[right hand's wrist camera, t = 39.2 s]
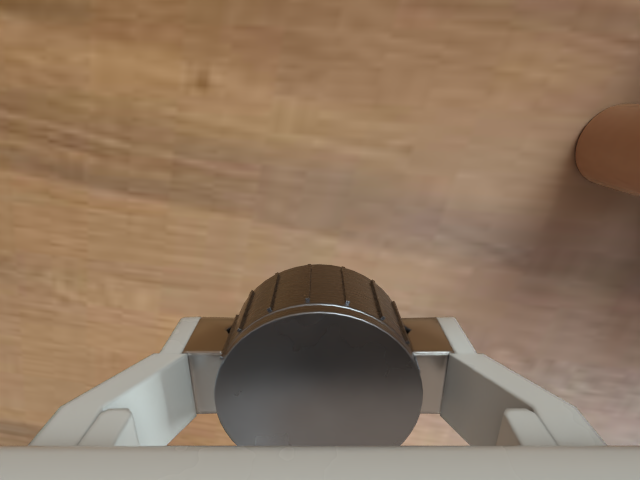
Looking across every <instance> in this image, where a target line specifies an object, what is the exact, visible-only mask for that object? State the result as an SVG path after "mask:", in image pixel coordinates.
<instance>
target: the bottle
mask: <svg viewBox="0 0 640 480" xmlns="http://www.w3.org/2000/svg"><path fill="white" fill-rule="evenodd" d="M575 158H576V164H577V167H578V170H579V171H580V173H581V174H582V175H583V177H584V178H586V179H587V180H588V181H590V182H592V183H595V184H598V185H601V186H605V187H608V188H611V189H615V190H618V191H621V192H625V193H628V194H631V195H635V196H638V197H640V104H619V105H615V106H612V107H610V108H607V109H605V110H604V111H602V112H600V113H599V114H598V115H596V116H595V117H594V118H593V119H592V120H591V121H590V122H589V123H588V124H587V126H586V127H585V128H584V130H583V131H582V133H581V135H580V137H579V140H578V143H577V146H576V153H575Z"/></svg>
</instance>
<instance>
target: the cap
mask: <svg viewBox="0 0 640 480" xmlns="http://www.w3.org/2000/svg"><path fill="white" fill-rule="evenodd" d="M409 344H410V341H409V339H408V336H407V333H406V330H405V328H404V325H403V322H402V320H401V317H400V314H399V311H398V309H397V306H396V303H395V302H394V301H393V302H392V301H391V299H390V298H389V296H388V295H387V294H386V293H385V292H384V291H383V290H382V289H381V288H380V287H379V286H378V285H377V284H376V283H375V281H374V280H370V279H368V278H367V277H365V276H364V275H361V274H359V273H357V272H355V271H352V270H349V269H346V268H345V267H338V266H333V265H321V264H317V265H311V264H308V265H305V266H299V267H295V268H291V269H288V270H285V271H283V272H280V273H276V274H275V275H274V276H272V277H271V278H269V279H267V280H266V281H264V282H263V283H262V284H261V285H260V286H258V287H257V288H256V289H255V290H254V291H251V292H250V294H249V297H248V299H247V300H246V302H245V303H244V305H243V307H242V309H241V311H240V313H239V315H236V317H235V320H234V322H233V325H232V327H231V330H230V333H229V335H228V338H227V340H226V343H225V345H224V348H223V351H222V353H221V356H220V360H222V361H221V364H220V367H219V369H218V373H217V376H216V379H215V386H214V402H215V407H216V412H217V415H218V417H219V420H220V423H221V424H222V426H223V428H224V430H225V432H226V433H227V434H228V436H229V437H230V438H231V440H232V441H233V442H234V443H235V444H236V445H237V446H400V445H401V444H402V443H403V442H404V441H405V440H406V438H407V437H408V436H409V435H410V433H411V432H412V430H413V428H414V426H415V425H416V423H417V420H418V417H419V415H420V411H421V407H422V402H423V387H422V380H421V376H420V373H421V372H420V368H419V365H418V363H416V361H415V358H414V356H413V353H412V350H411V347H410V345H409Z"/></svg>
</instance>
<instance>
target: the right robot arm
mask: <svg viewBox="0 0 640 480" xmlns="http://www.w3.org/2000/svg"><path fill="white" fill-rule="evenodd" d="M234 320H235V318H224V317H184V318H181V319H180V321H179V323H178V324H177V326H176V327H175V329H174V331H173V332H172V334H171V335H170V337H169V339H168V340H167V342H166V343H165V345H164V347H163V348H162V350H161V351H160V353H159V354H152V355H150V356H148V357H147V358H145V359H143V360H141V361H140V362H138V363H136V364H134V365H133V366H131V367H129V368H127V369H126V370H124V371H122V372H120V373H119V374H117V375H115V376H113V377H112V378H110V379H108V380H106V381H104V382H103V383H101V384H99V385H97V386H96V387H94V388H92V389H90V390H89V391H87V392H85V393H83V394H82V395H80V396H78V397H76V398H75V399H73V400H71V401H69V402H68V403H66V404H64V405H62V406H61V407H60V408H59V409H58V410H57V411H56V412H55V413H54V415H53V416H52V417H51V418H50V419H49V421H48V422H47V423H46V424H45V425H44V427H43V428H42V429H41V430H40V431H39V433H38V434H37V435H36V436H35V437H34V439H33V440H32V441H31V442H30V443H29V445H28V446H0V480H640V446H607V445H606V443H605V442H604V441H603V440H602V438H601V437H600V436H599V435H598V434H597V432H596V431H595V430H594V429H593V427H592V426H591V425H590V424H589V422H588V421H587V420H586V419H585V418H584V416H583V415H582V414H581V413H580V411H579V410H578V409H577V408H576V407H575V406H573V405H571V404H569V403H568V402H566V401H564V400H562V399H561V398H559V397H557V396H556V395H554V394H552V393H550V392H549V391H547V390H545V389H543V388H542V387H540V386H538V385H536V384H535V383H533V382H531V381H530V380H528V379H526V378H524V377H523V376H521V375H519V374H517V373H516V372H514V371H512V370H510V369H509V368H507V367H505V366H504V365H502V364H500V363H498V362H497V361H495V360H493V359H491V358H490V357H488V356H486V355H484V354H477V352H476V351H475V349H474V347H473V346H472V344H471V343H470V341H469V339H468V338H467V336H466V335H465V333H464V331H463V330H462V328H461V326H460V325H459V323H458V322H457V320H456V318H454V317H434V318H401V320H402V322H403V325H404V328H405V330H406V333H407V336H408V339H409V341H410V344H409V345H410V347H411V350H412V353H413V356H414V358H415V361H416V363H418V365H419V368H420V372H421V373H420V376H421V380H422V387H423V402H422V407H421V411H420V413H428V414H440V416H441V417H442V418H443V419H444V420H445V421H446V422H447V423H448V424H449V425H450V426H451V427H452V428H453V429H454V430H455V431H456V432H457V433H458V434H459V435H460V436H461V437H462V438H463V439H464V440H465V441H466V442H467V443H468V444H469V445H470V446H166V445H167V444H168V443H169V442H170V441H171V440H172V439H173V438H174V437H175V436H176V435H177V434H178V433H179V432H180V431H181V430H183V429H184V428H185V427H186V426H187V425H188V424H189V423H190V422H191V421H192V420H193V419H194V418H195V417H196V414H209V413H217V412H216V407H215V402H214V386H215V379H216V376H217V373H218V369H219V367H220V364H221V361H222V360H220V356H221V353H222V351H223V348H224V345H225V343H226V340H227V338H228V335H229V333H230V330H231V327H232V325H233V322H234Z"/></svg>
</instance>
